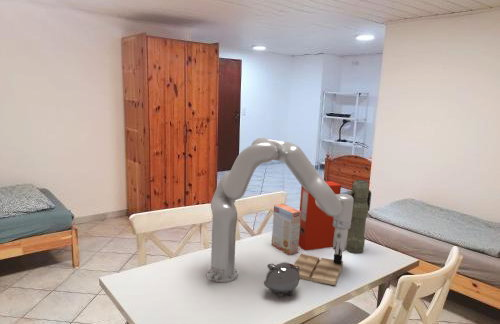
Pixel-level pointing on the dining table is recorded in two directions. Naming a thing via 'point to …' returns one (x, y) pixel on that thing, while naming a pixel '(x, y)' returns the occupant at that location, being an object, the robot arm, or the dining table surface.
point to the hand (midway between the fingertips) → (337, 263)
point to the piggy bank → (282, 278)
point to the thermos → (358, 216)
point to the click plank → (327, 271)
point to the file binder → (315, 222)
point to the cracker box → (286, 228)
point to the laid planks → (307, 266)
